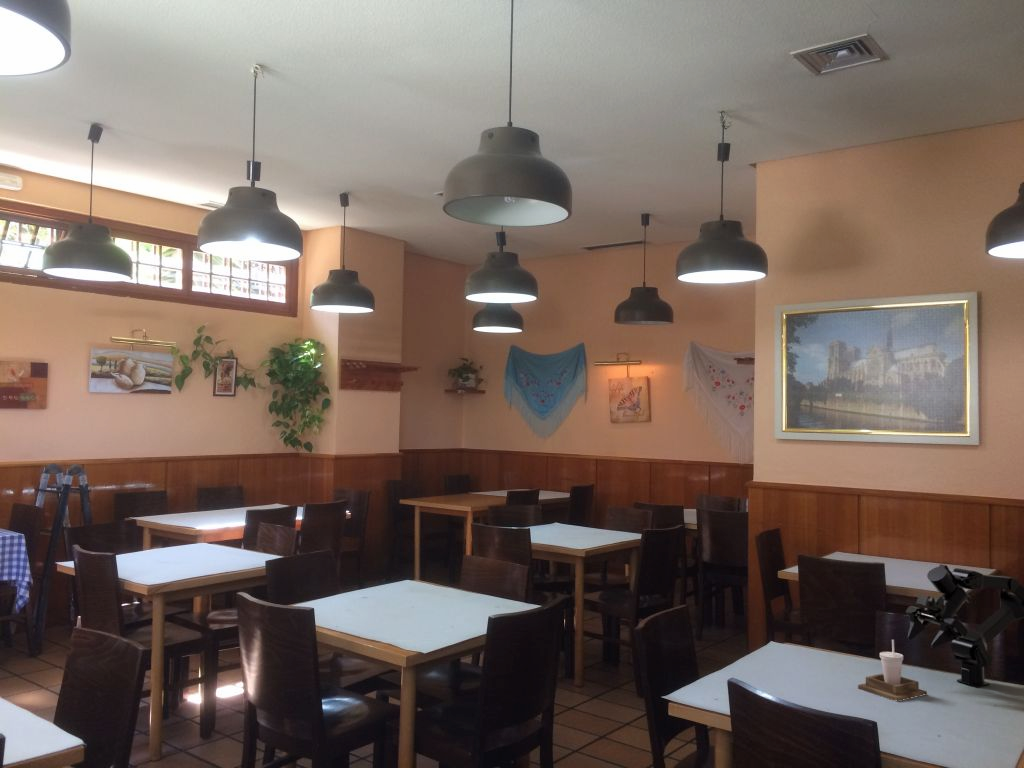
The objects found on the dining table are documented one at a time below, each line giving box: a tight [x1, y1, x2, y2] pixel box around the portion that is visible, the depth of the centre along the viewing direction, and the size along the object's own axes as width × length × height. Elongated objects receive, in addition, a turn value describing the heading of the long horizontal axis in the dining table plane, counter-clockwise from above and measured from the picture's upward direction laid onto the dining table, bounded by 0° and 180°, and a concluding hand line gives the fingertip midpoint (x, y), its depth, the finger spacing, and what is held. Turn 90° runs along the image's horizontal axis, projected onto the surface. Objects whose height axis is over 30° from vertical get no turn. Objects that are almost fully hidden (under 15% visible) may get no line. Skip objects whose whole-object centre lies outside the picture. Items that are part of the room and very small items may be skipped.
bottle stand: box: [857, 673, 928, 702], centre depth 230 cm, size 13×13×4 cm
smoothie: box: [879, 639, 904, 685], centre depth 231 cm, size 6×6×14 cm
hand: (920, 642), depth 233 cm, fingers open, 9 cm apart
